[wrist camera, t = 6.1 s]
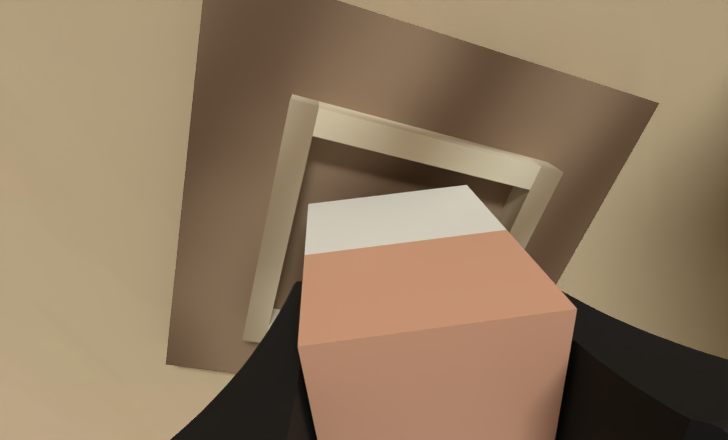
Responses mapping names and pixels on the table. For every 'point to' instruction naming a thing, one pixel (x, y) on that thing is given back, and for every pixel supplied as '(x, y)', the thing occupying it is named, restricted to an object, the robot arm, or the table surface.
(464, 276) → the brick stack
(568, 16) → the table surface
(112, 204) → the table surface
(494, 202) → the walnut board
